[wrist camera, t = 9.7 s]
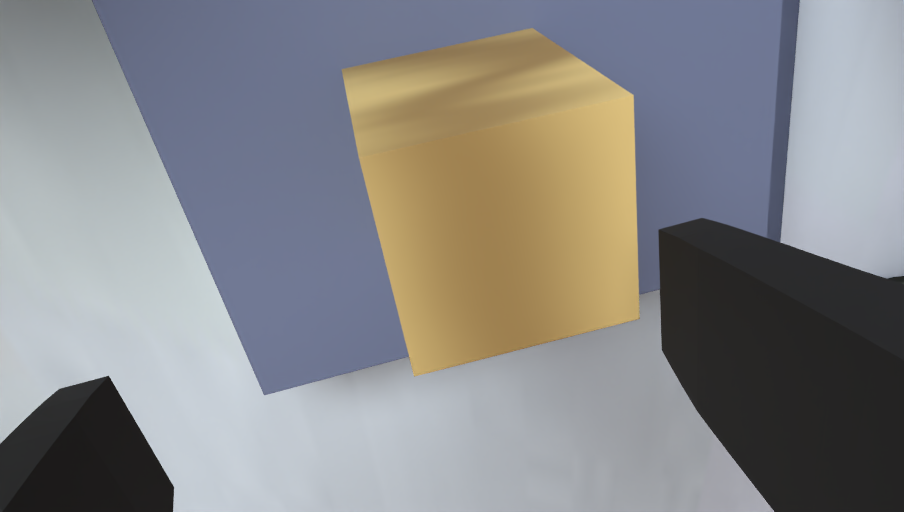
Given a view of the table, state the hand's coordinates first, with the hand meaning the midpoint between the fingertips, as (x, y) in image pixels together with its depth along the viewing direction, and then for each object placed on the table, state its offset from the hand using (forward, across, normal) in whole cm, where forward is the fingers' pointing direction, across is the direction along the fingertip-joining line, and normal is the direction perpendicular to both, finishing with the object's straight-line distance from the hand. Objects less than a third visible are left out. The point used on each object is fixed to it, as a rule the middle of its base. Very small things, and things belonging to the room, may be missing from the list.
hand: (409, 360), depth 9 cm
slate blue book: (+10, -3, 0) cm, 10 cm away
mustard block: (+7, -2, 0) cm, 7 cm away
